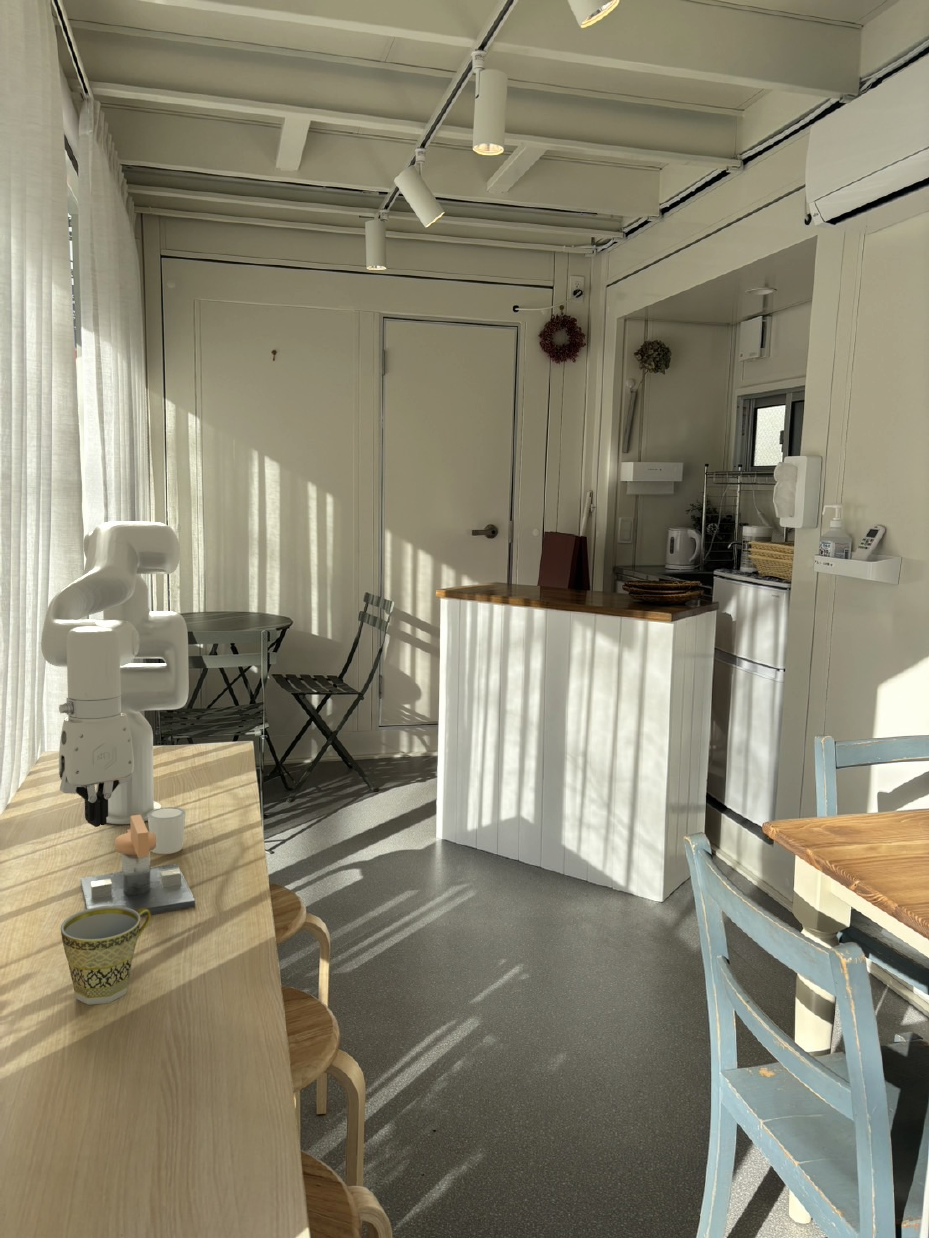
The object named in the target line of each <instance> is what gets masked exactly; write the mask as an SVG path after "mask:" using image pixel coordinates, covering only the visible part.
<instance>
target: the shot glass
mask: <svg viewBox="0 0 929 1238" xmlns="http://www.w3.org/2000/svg"><path fill="white" fill-rule="evenodd" d="M186 813H187V812H186V810H185V809H183V808H180V807H175V806H168V807H162V808H158V809H154V810H152V811H150V812H149V813H148V821H147V822H148V832H151V833H153V834H155V835H156V847H155V848H154V849H153V850H151V852H153V853H154V854H159V855H167V854H174V853H177V852H180V851H181V850H183V845H184V844H183V843H184V834H185V823H186Z"/></svg>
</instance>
